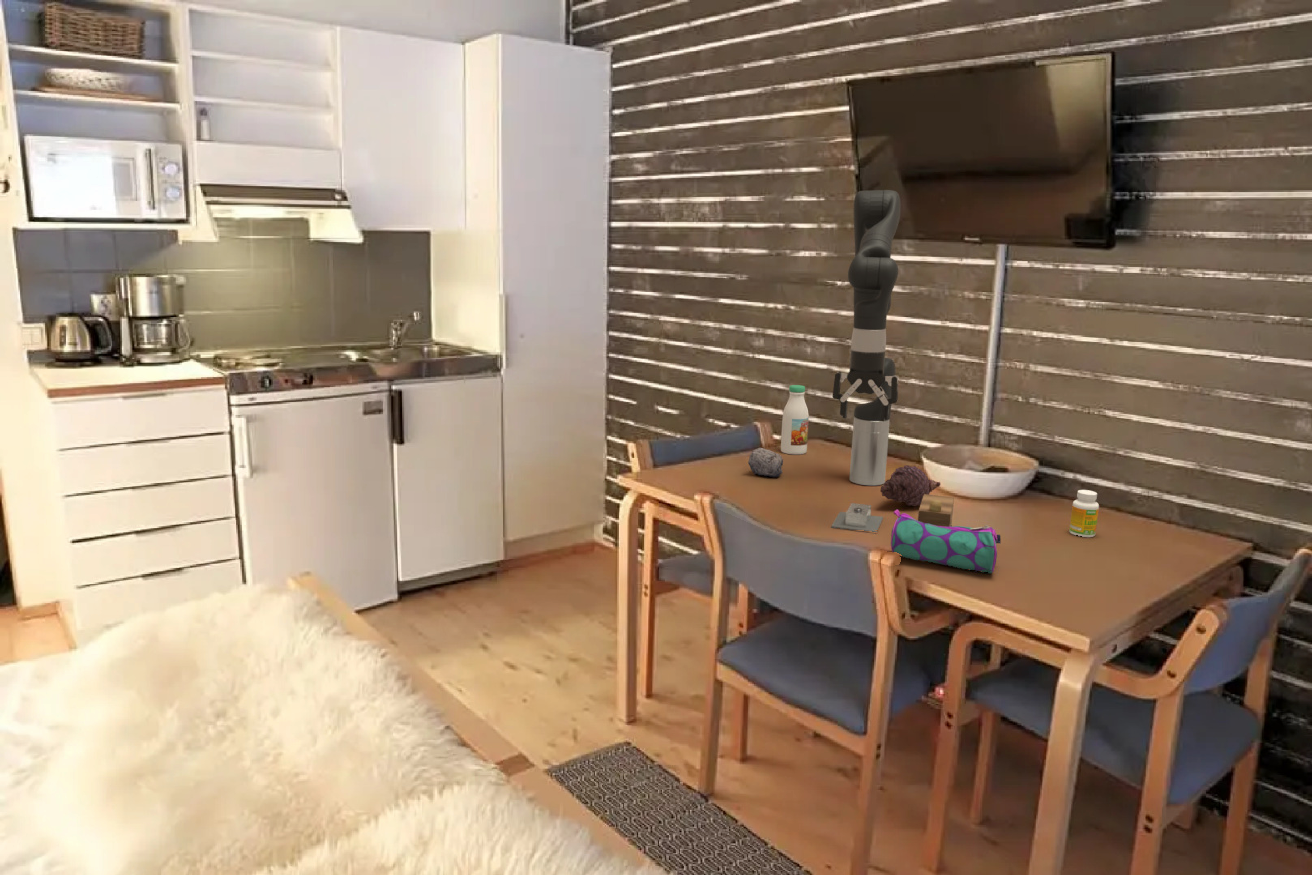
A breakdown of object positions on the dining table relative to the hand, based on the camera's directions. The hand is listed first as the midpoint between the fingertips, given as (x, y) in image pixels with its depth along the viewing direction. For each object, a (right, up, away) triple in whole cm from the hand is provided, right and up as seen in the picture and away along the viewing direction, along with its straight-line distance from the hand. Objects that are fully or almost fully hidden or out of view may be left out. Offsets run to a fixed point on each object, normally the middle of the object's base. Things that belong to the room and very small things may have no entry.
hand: (863, 419), depth 216 cm
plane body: (+14, -26, -7) cm, 30 cm away
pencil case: (+11, -30, -24) cm, 40 cm away
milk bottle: (-6, -9, +68) cm, 69 cm away
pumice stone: (-17, -15, +41) cm, 47 cm away
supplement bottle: (+48, -26, -2) cm, 55 cm away
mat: (-1, -24, +1) cm, 24 cm away
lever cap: (-1, -23, +1) cm, 23 cm away
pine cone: (+14, -21, +16) cm, 30 cm away
